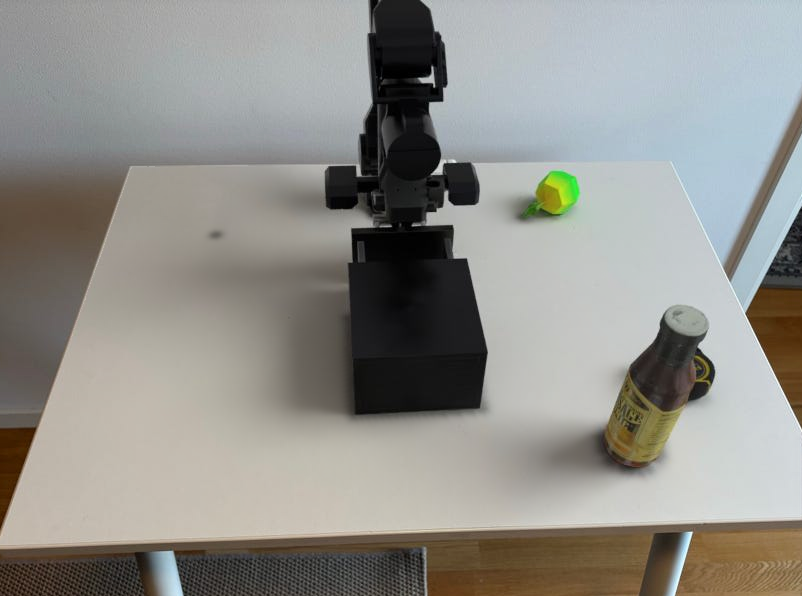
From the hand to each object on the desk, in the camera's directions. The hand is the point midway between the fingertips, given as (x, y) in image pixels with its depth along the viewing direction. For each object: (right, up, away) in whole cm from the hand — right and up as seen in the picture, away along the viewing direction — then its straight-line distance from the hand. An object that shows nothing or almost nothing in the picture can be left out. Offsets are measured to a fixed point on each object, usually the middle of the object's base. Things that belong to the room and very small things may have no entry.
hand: (400, 240), depth 98 cm
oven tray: (+1, -7, -2) cm, 8 cm away
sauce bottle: (+25, -25, -17) cm, 40 cm away
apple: (+22, +6, +13) cm, 26 cm away
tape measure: (+32, -18, -10) cm, 38 cm away
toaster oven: (+2, -16, -9) cm, 18 cm away
